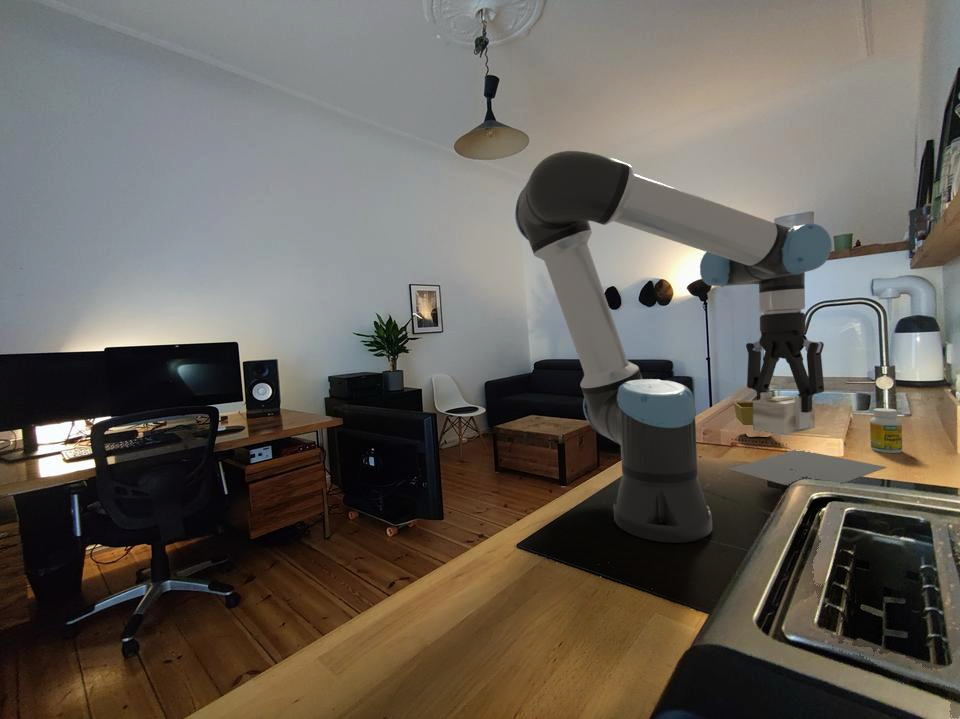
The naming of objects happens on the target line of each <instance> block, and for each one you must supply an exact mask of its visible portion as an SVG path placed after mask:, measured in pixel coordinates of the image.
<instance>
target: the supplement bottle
mask: <svg viewBox="0 0 960 719" xmlns="http://www.w3.org/2000/svg"><path fill="white" fill-rule="evenodd" d="M872 411H873V412H872V413H873V414H872V415H873V416H874V417H871V418H870V420H869V432H870V448H871V450H873V451H875V452H879V453H885V454H886V453H887V454H899V453H901V452H902V451H903V423H902V421H901V419H900V418H897V417H898V409H893V408H884V407H883V408H880V407H879V408H877V407H876V408H873V410H872Z"/></svg>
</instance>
